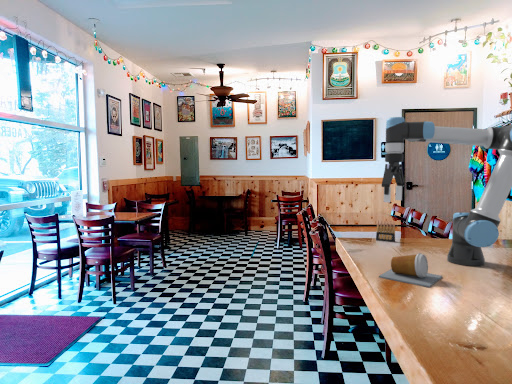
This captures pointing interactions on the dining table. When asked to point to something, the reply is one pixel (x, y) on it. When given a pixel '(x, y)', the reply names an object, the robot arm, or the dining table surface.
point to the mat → (412, 278)
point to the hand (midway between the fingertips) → (392, 201)
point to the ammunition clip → (386, 232)
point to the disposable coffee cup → (410, 265)
